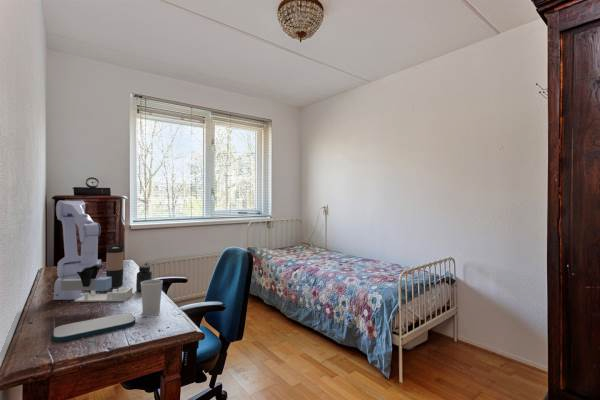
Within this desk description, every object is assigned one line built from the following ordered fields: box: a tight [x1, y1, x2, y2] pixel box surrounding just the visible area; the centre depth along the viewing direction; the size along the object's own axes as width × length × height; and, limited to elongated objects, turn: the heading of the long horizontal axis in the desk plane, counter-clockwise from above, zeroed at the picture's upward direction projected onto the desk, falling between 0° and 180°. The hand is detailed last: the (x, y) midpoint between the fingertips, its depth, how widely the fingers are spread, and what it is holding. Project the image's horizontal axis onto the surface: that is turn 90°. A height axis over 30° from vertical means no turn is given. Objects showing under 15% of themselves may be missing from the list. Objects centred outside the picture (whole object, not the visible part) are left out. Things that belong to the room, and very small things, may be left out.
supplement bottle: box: [135, 265, 153, 293], centre depth 150 cm, size 7×7×12 cm
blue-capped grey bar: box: [61, 276, 112, 292], centre depth 125 cm, size 18×4×4 cm, turn 96°
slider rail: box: [73, 287, 134, 303], centre depth 138 cm, size 21×9×4 cm, turn 96°
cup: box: [140, 279, 164, 316], centre depth 123 cm, size 8×8×12 cm
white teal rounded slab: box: [52, 312, 136, 343], centre depth 106 cm, size 24×12×2 cm, turn 129°
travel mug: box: [105, 245, 125, 289], centre depth 157 cm, size 8×8×20 cm
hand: (88, 285), depth 125 cm, fingers closed on blue-capped grey bar, 3 cm apart
